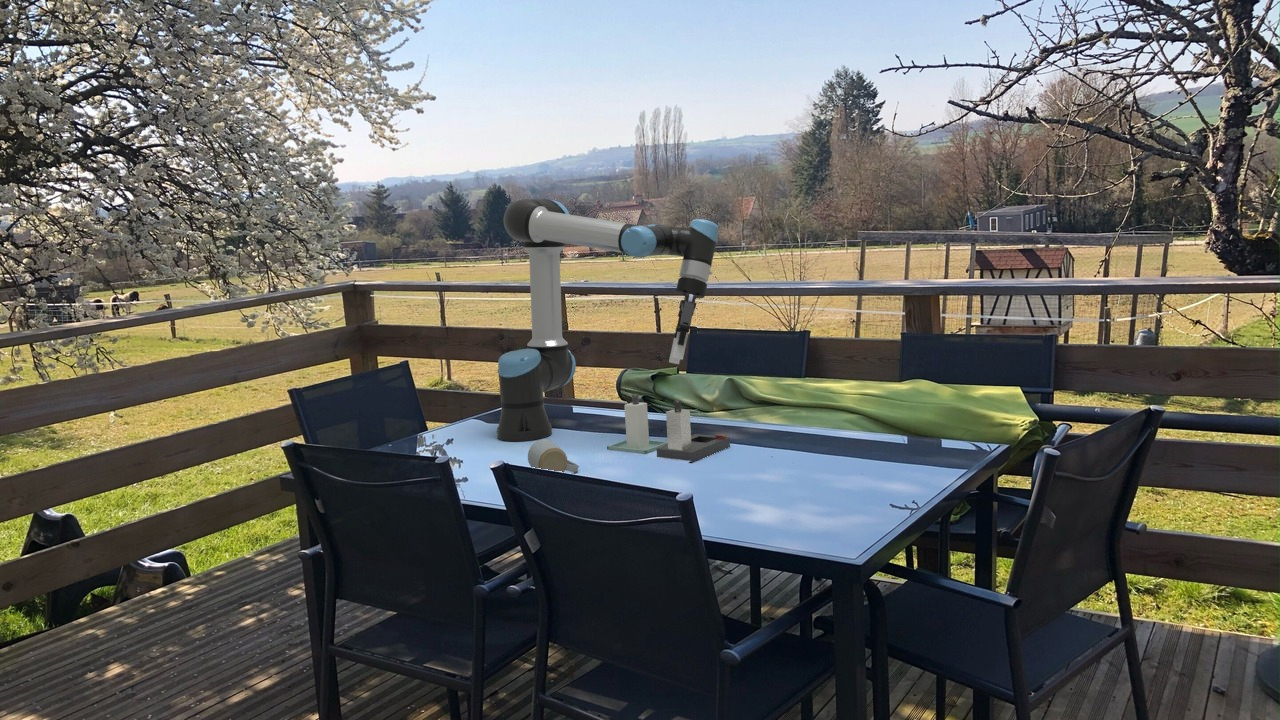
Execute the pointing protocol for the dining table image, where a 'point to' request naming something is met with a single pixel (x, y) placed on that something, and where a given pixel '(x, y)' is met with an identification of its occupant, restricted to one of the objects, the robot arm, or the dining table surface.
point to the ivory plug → (636, 424)
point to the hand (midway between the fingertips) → (675, 361)
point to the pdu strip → (697, 445)
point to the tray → (623, 447)
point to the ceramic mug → (549, 457)
